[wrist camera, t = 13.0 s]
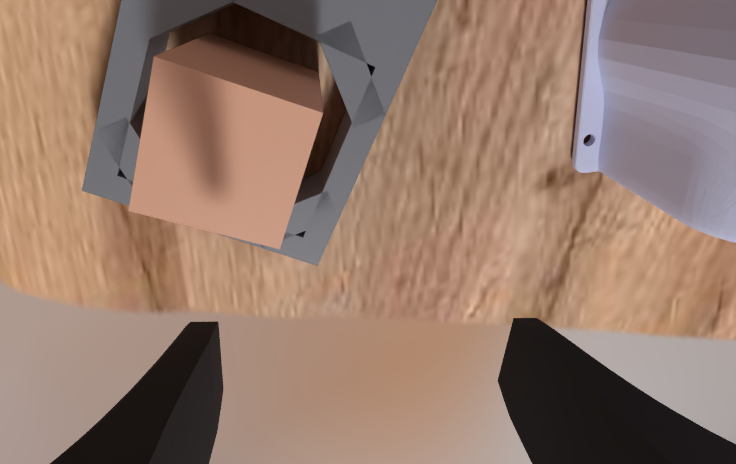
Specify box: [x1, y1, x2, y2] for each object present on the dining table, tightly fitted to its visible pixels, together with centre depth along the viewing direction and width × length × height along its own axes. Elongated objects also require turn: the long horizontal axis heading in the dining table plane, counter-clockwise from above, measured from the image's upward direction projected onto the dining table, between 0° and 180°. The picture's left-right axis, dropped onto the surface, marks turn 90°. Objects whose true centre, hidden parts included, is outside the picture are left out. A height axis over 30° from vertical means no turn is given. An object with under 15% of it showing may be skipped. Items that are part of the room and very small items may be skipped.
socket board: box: [82, 0, 437, 266], centre depth 16 cm, size 16×9×2 cm, turn 156°
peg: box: [129, 34, 323, 249], centre depth 16 cm, size 4×4×7 cm
